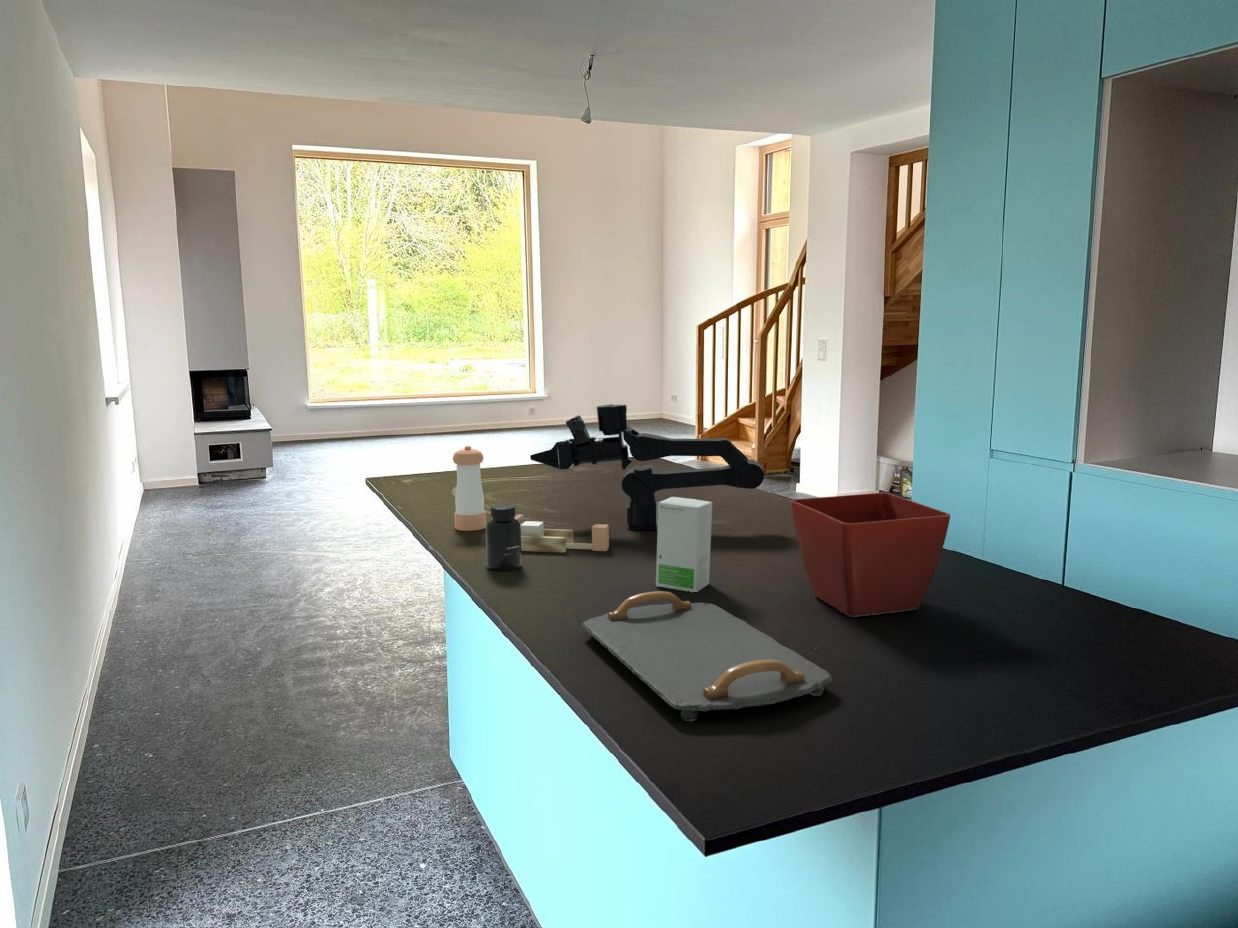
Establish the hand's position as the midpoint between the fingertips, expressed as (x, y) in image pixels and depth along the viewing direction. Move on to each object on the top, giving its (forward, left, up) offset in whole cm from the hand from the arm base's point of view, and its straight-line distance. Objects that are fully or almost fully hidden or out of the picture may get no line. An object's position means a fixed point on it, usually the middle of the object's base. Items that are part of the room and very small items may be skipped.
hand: (534, 456), depth 205 cm
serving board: (-45, +78, -17) cm, 92 cm away
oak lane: (-7, +19, -16) cm, 26 cm away
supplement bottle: (-3, +35, -17) cm, 39 cm away
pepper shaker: (+15, +4, -17) cm, 23 cm away
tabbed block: (-12, +19, -17) cm, 28 cm away
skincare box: (-39, +42, -17) cm, 60 cm away
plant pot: (-70, +48, -17) cm, 87 cm away
